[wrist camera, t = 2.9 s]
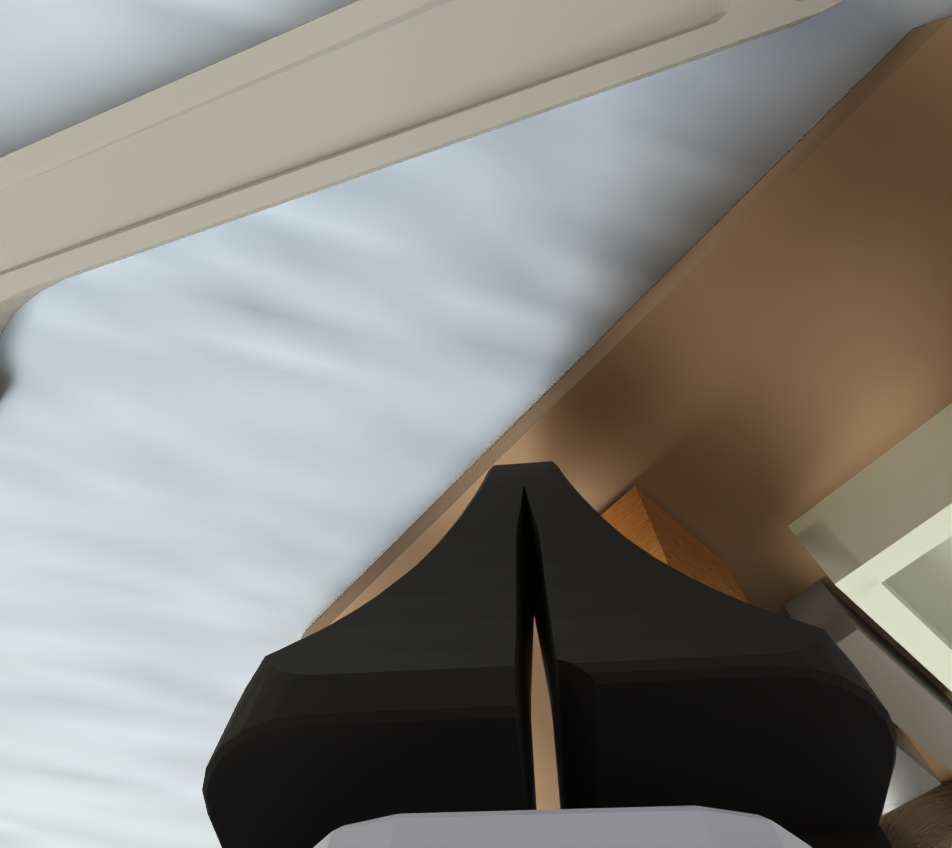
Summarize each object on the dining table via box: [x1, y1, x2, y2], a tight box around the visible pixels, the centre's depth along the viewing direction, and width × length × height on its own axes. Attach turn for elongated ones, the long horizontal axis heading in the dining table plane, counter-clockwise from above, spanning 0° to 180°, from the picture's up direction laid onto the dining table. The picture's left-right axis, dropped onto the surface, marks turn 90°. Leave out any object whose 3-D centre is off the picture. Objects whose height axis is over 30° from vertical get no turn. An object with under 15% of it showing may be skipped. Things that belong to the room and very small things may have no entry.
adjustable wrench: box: [0, 0, 843, 337], centre depth 12 cm, size 25×6×2 cm, turn 104°
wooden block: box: [601, 486, 941, 815], centre depth 13 cm, size 3×10×3 cm, turn 49°
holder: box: [301, 16, 952, 827], centre depth 15 cm, size 18×23×3 cm
